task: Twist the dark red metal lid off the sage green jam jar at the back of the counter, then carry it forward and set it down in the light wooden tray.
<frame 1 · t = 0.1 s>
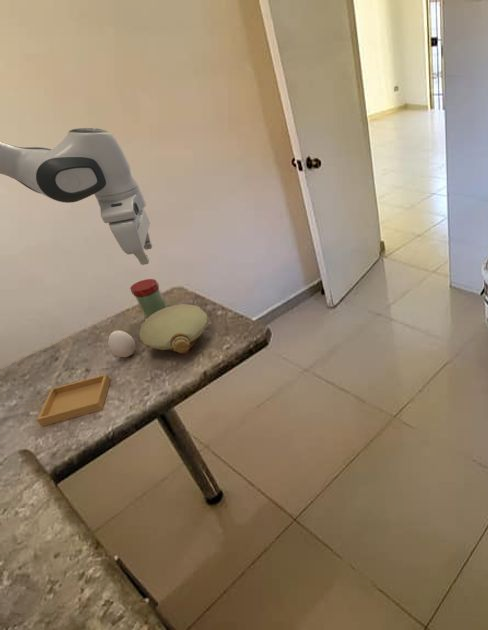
hand: (147, 255, 109), 21 cm above the countertop, tool pointing down, fingers open, 8 cm apart
lid: (144, 286, 116), point 11 cm above the countertop, screwed on, not yet turned
egg: (128, 355, 109), on the countertop
flask: (183, 345, 111), on the countertop
tray: (78, 402, 96), on the countertop
jar: (160, 318, 122), on the countertop
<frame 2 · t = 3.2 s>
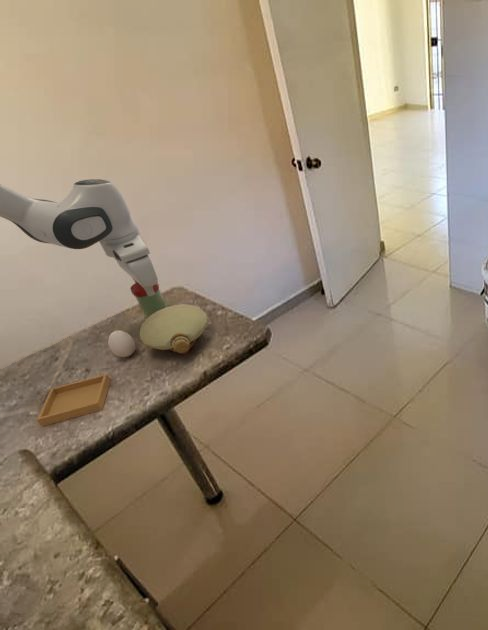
hand: (146, 290, 117), 9 cm above the countertop, tool pointing down, fingers closed on lid, 6 cm apart
lid: (144, 286, 116), point 11 cm above the countertop, screwed on, not yet turned, touching gripper
everything else where it was.
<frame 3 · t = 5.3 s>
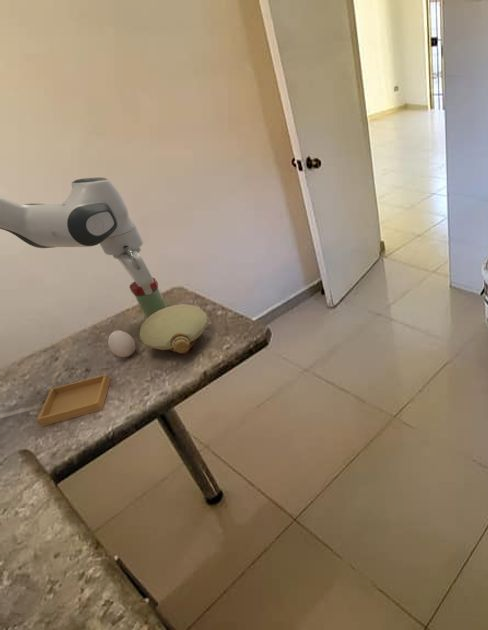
hand: (145, 288, 117), 10 cm above the countertop, tool pointing down, fingers closed on lid, 6 cm apart
lid: (143, 284, 117), point 11 cm above the countertop, off its thread, touching gripper
everything else where it was.
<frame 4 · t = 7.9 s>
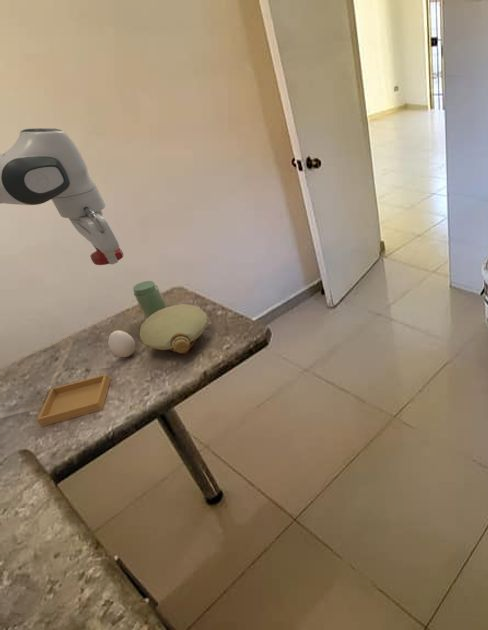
hand: (108, 258, 106), 22 cm above the countertop, tool pointing down, fingers closed on lid, 6 cm apart
lid: (106, 253, 105), point 23 cm above the countertop, off its thread, touching gripper
everything else where it was.
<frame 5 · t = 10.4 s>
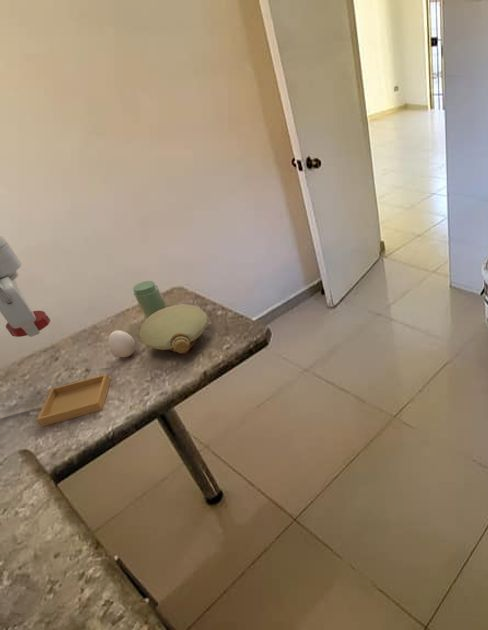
hand: (30, 326, 86), 20 cm above the countertop, tool pointing down, fingers closed on lid, 6 cm apart
lid: (27, 321, 85), point 21 cm above the countertop, off its thread, touching gripper
everything else where it was.
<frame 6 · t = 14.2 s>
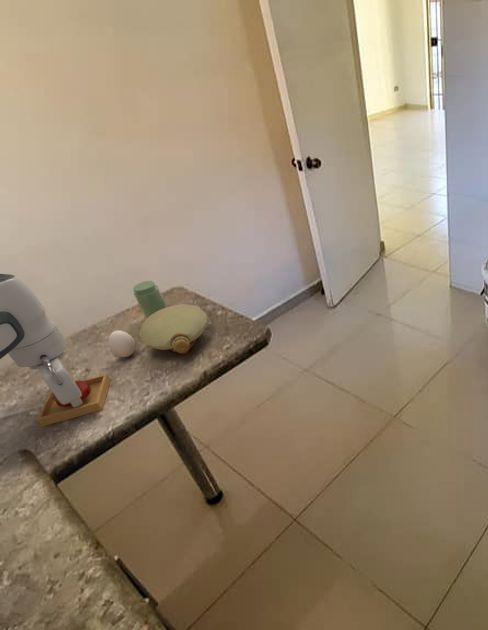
hand: (73, 396, 95), 2 cm above the countertop, tool pointing down, fingers closed on lid, 6 cm apart
lid: (71, 391, 94), point 3 cm above the countertop, off its thread, touching gripper
everything else where it was.
when the fingers open (2 cm above the countertop, at t = 17.9 s): lid drops 1 cm, resting on tray.
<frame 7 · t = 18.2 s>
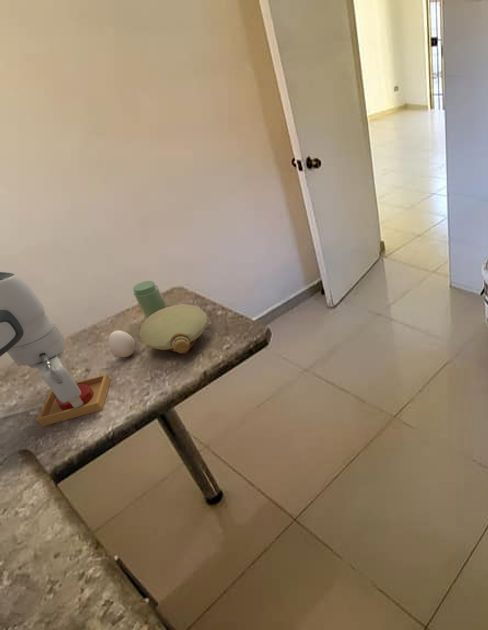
hand: (72, 394, 95), 2 cm above the countertop, tool pointing down, fingers open, 8 cm apart
lid: (73, 395, 95), point 2 cm above the countertop, off its thread, touching tray
everything else where it was.
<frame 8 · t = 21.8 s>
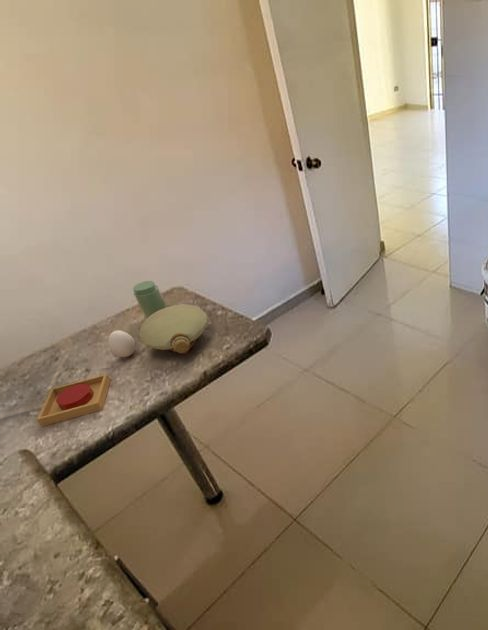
nothing on the countertop moved.
at the end: lid inside the target area in the tray (0.1 cm from its centre), point 2.0 cm above the tray's base; the gripper is holding nothing; jar moved 0.7 cm from its start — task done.
